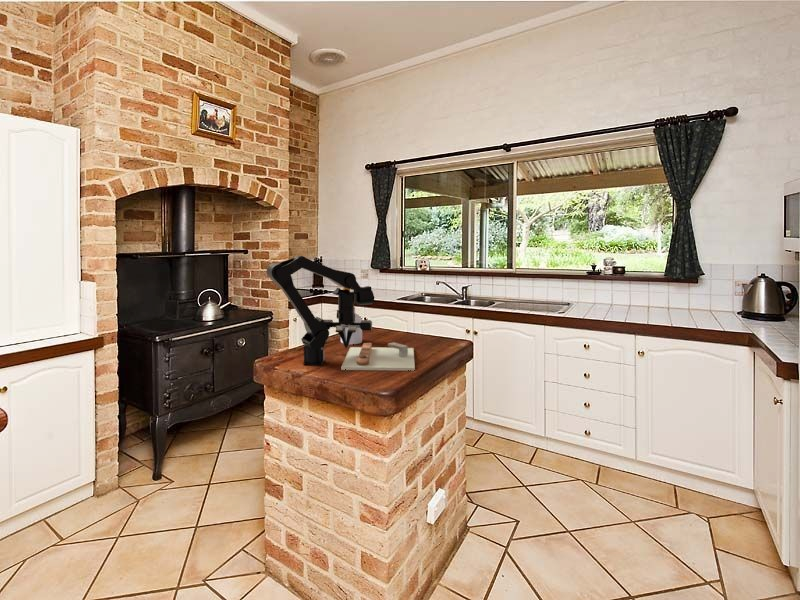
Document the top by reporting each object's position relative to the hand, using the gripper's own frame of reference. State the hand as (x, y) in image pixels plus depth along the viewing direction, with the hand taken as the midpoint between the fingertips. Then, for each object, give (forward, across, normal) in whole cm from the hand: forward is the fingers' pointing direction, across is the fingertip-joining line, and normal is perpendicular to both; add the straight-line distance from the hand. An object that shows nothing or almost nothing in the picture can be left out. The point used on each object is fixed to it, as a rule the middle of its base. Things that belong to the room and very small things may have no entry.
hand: (346, 347), depth 167 cm
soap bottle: (+4, +1, -23) cm, 23 cm away
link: (+2, -7, +2) cm, 8 cm away
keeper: (+4, -19, -1) cm, 19 cm away
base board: (+4, -13, +2) cm, 13 cm away
